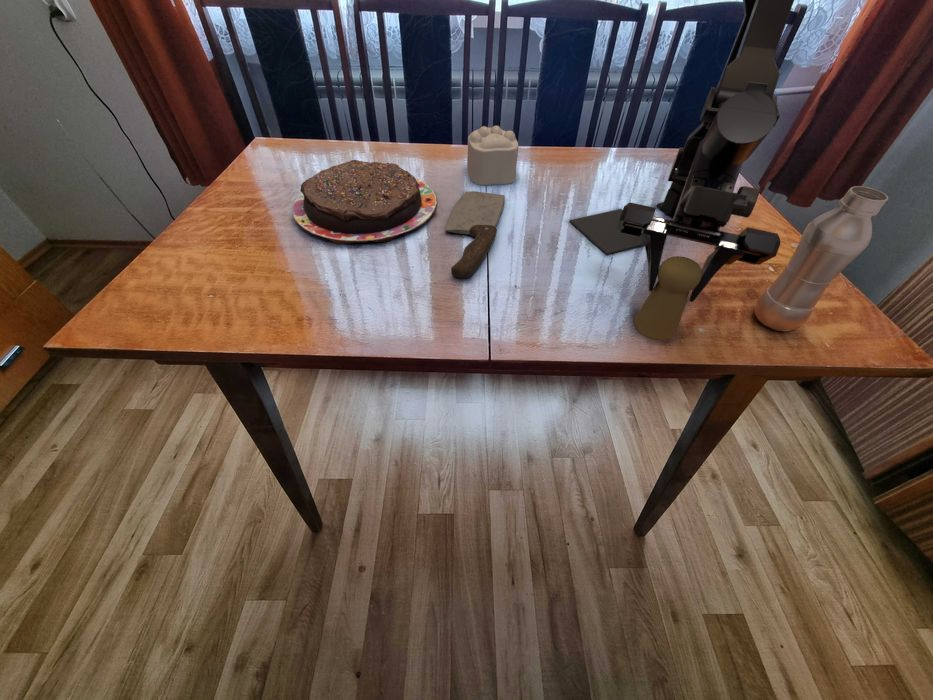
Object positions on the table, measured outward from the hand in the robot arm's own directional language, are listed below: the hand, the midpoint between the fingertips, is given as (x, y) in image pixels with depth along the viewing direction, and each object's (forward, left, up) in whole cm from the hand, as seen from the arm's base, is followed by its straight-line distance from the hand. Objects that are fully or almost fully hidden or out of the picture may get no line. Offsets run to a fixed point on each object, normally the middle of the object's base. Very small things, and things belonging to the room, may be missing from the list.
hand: (670, 296), depth 56 cm
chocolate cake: (+30, -50, -7) cm, 59 cm away
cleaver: (+14, -34, -7) cm, 37 cm away
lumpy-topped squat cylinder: (0, -56, -7) cm, 56 cm away
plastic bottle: (-18, +5, -7) cm, 20 cm away
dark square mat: (-11, -24, -7) cm, 28 cm away
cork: (-1, -1, -7) cm, 7 cm away
